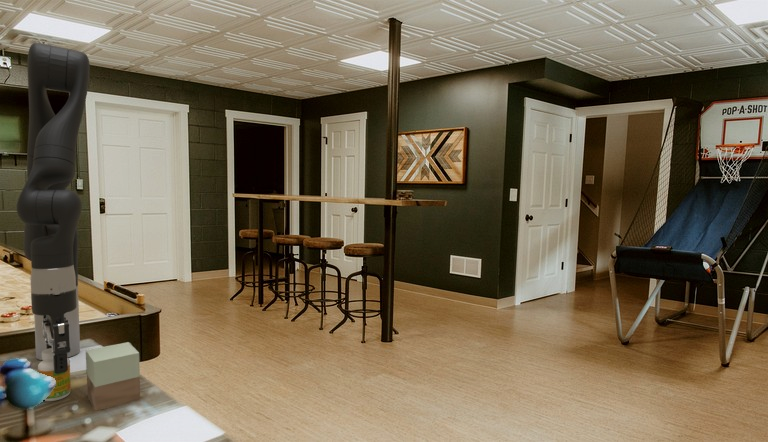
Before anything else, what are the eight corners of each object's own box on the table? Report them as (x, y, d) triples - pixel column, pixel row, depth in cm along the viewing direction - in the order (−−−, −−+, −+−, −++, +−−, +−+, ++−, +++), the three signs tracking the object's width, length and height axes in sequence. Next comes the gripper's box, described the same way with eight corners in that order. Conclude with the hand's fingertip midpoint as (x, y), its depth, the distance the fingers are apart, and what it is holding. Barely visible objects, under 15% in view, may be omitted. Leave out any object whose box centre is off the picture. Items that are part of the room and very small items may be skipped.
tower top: (86, 373, 99) (85, 350, 99) (129, 364, 104) (128, 342, 104) (94, 387, 93) (94, 362, 93) (139, 376, 98) (139, 352, 98)
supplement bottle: (54, 403, 96) (53, 356, 95) (32, 400, 97) (30, 353, 96) (77, 391, 101) (75, 347, 100) (55, 388, 102) (53, 344, 101)
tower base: (87, 396, 100) (86, 373, 99) (129, 386, 105) (129, 364, 104) (95, 411, 94) (94, 387, 93) (140, 400, 99) (139, 376, 98)
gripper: (26, 285, 100) (29, 361, 101) (36, 297, 89) (40, 382, 91) (68, 280, 105) (71, 352, 106) (83, 291, 95) (86, 372, 96)
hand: (57, 366), depth 98 cm, fingers open, 8 cm apart
